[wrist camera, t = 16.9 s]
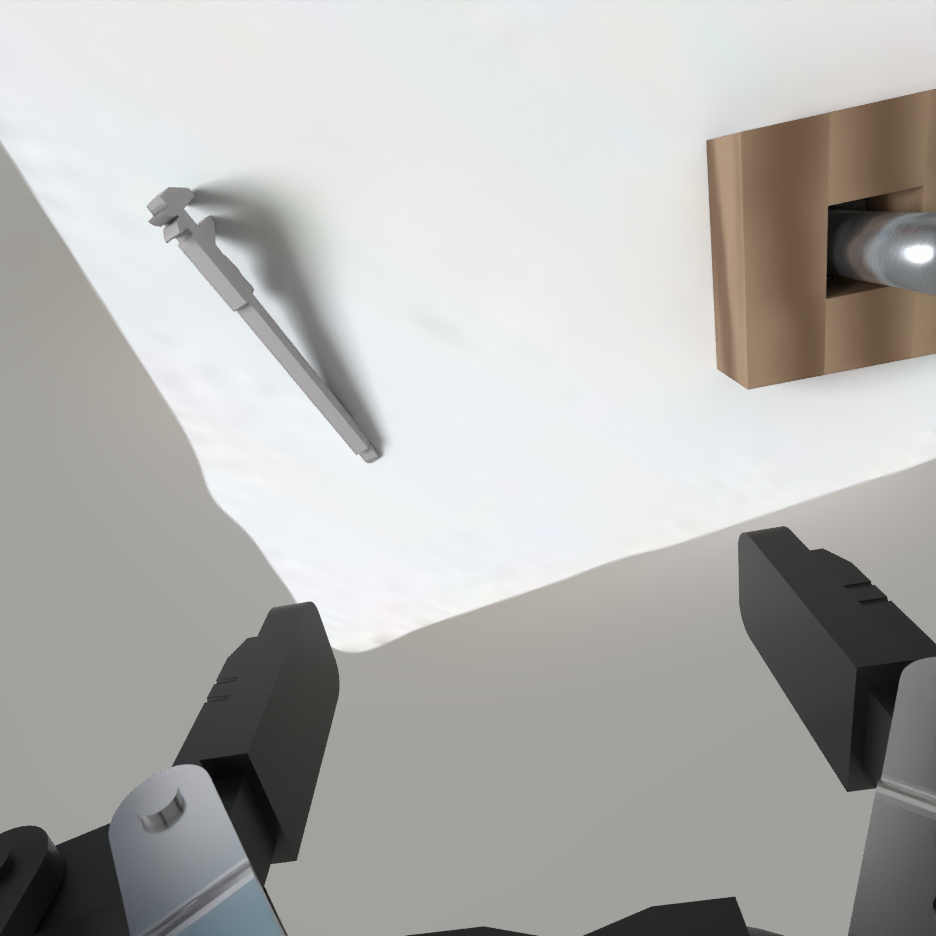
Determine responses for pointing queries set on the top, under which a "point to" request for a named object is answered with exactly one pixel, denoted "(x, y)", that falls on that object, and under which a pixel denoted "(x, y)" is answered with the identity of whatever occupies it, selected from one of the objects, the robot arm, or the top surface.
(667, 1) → the top surface
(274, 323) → the caliper
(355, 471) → the top surface
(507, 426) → the top surface
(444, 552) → the top surface
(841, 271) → the steel peg
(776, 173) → the socket block
